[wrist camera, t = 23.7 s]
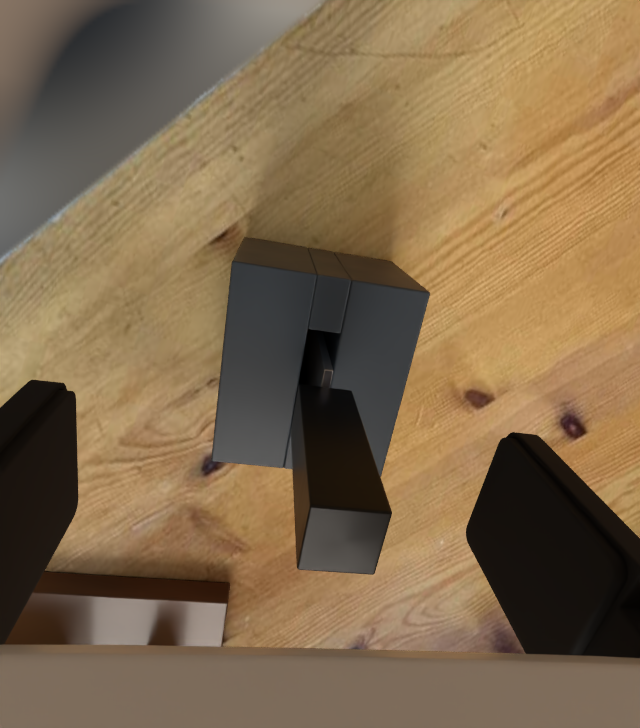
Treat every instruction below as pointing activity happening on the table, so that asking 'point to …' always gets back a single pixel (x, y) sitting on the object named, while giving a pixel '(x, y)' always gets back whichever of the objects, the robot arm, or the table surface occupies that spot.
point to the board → (122, 612)
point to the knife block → (288, 336)
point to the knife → (333, 474)
